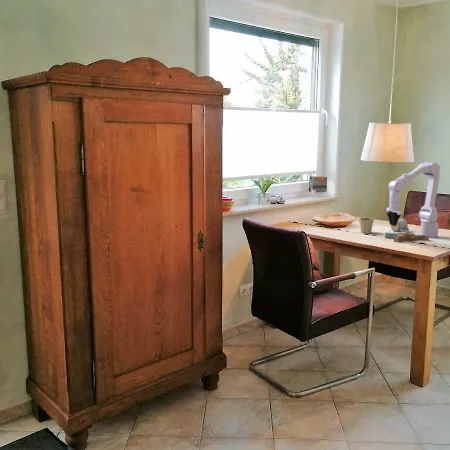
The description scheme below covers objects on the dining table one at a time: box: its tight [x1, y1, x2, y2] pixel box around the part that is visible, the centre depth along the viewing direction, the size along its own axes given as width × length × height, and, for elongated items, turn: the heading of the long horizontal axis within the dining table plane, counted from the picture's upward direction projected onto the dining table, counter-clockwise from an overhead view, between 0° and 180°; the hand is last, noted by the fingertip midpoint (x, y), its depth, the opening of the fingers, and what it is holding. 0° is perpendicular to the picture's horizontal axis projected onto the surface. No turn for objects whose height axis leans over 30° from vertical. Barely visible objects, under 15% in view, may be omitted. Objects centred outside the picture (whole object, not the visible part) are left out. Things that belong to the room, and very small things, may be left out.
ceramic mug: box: [390, 218, 410, 233], centre depth 308 cm, size 11×8×8 cm
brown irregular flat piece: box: [393, 232, 430, 243], centre depth 284 cm, size 22×13×3 cm, turn 92°
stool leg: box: [384, 231, 409, 239], centre depth 288 cm, size 13×2×4 cm, turn 72°
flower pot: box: [358, 217, 375, 234], centre depth 304 cm, size 9×9×9 cm
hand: (393, 225), depth 284 cm, fingers open, 2 cm apart
